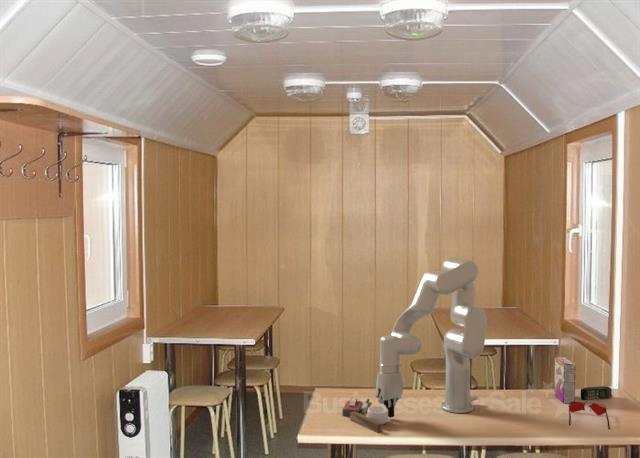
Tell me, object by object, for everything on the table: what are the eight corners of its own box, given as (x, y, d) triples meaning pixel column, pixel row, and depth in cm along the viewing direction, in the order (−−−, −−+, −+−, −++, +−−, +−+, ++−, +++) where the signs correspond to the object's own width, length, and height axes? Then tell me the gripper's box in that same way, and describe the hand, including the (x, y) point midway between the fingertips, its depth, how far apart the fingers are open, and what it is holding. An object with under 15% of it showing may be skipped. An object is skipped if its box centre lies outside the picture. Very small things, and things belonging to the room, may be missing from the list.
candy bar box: (553, 395, 278) (554, 357, 277) (565, 395, 278) (566, 357, 277) (563, 403, 266) (563, 364, 265) (575, 403, 266) (576, 364, 265)
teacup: (387, 427, 240) (387, 413, 240) (366, 426, 242) (366, 412, 241) (389, 418, 250) (389, 404, 250) (369, 417, 251) (369, 403, 251)
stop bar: (354, 419, 250) (354, 411, 249) (381, 431, 236) (381, 423, 236) (350, 420, 248) (350, 412, 248) (377, 432, 235) (377, 424, 235)
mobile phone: (583, 389, 270) (615, 386, 273) (579, 387, 273) (610, 384, 276) (583, 401, 270) (615, 398, 274) (579, 399, 273) (610, 395, 277)
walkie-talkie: (363, 419, 250) (370, 402, 270) (363, 408, 250) (370, 392, 269) (341, 417, 252) (349, 401, 272) (341, 406, 252) (349, 391, 271)
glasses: (606, 416, 253) (606, 403, 253) (610, 430, 238) (610, 417, 237) (567, 412, 258) (568, 399, 258) (568, 426, 242) (569, 413, 242)
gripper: (398, 363, 255) (398, 409, 256) (368, 369, 247) (368, 417, 248) (411, 367, 249) (411, 415, 250) (381, 374, 241) (381, 423, 242)
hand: (389, 416), depth 249 cm, fingers closed
